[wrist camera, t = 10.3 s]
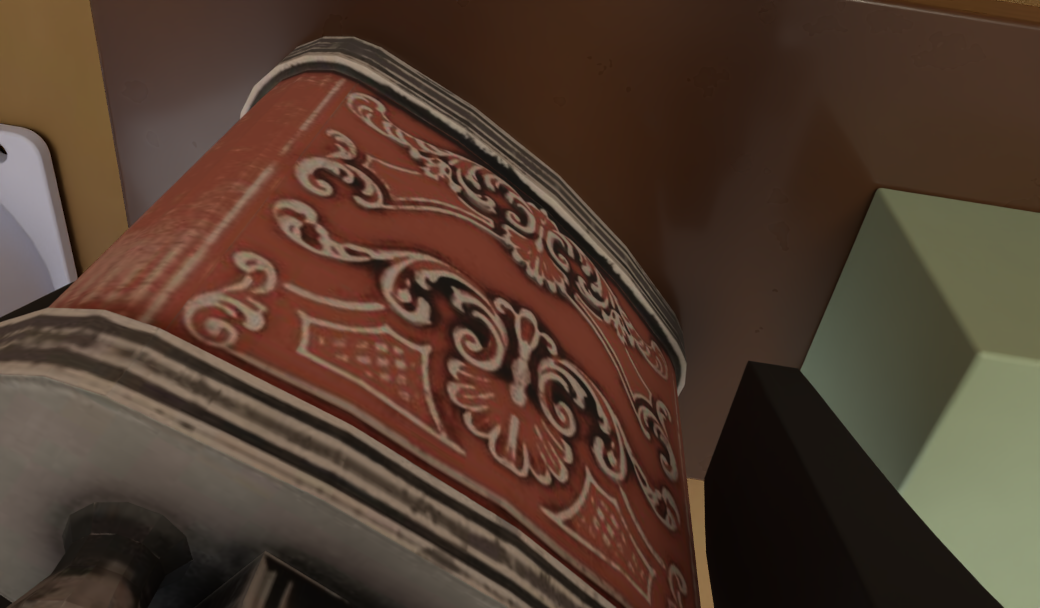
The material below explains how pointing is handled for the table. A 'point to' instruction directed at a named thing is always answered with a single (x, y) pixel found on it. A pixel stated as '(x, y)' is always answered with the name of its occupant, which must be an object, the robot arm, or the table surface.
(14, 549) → the lighter
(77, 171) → the table surface
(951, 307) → the sage block
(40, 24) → the table surface
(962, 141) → the wooden display riser
